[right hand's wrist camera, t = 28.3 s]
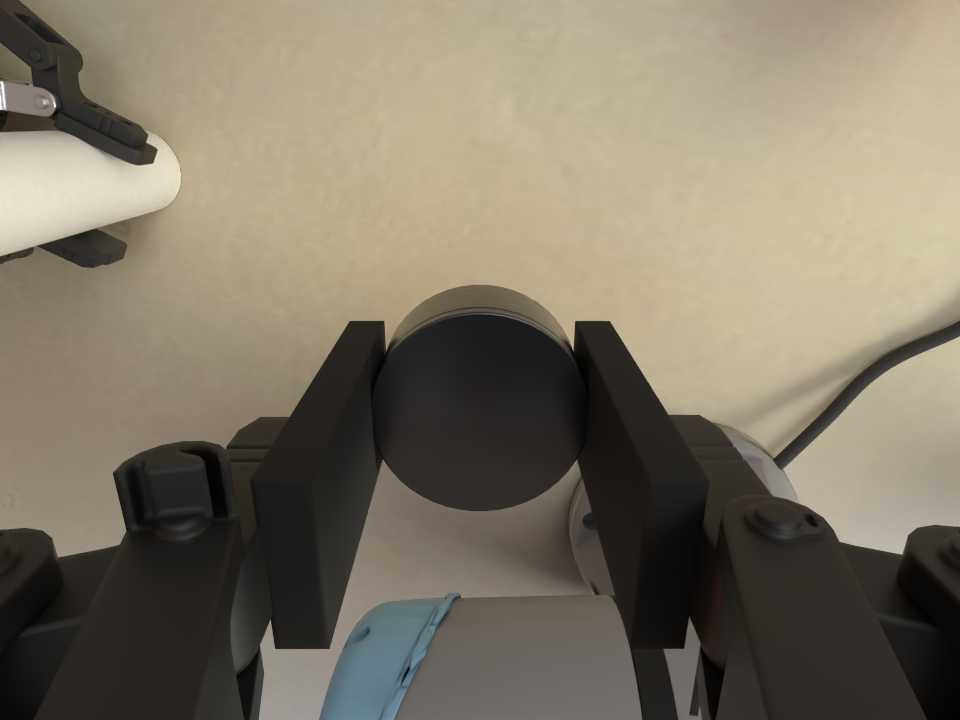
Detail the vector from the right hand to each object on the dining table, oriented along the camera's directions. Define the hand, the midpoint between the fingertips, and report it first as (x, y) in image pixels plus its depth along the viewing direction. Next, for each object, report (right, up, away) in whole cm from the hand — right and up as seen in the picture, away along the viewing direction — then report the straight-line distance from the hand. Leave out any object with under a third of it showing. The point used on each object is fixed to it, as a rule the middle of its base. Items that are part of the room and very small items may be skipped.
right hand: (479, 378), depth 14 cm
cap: (0, -1, -2) cm, 2 cm away
